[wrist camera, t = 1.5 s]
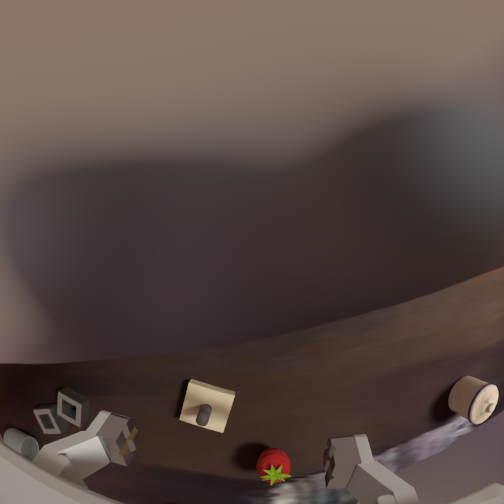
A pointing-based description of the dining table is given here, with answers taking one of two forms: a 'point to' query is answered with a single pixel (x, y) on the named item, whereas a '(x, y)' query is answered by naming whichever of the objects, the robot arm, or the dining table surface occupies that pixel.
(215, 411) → the block
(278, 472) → the strawberry
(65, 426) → the white square box
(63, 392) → the end link
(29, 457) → the ceramic mug
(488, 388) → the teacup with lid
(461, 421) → the dining table surface
